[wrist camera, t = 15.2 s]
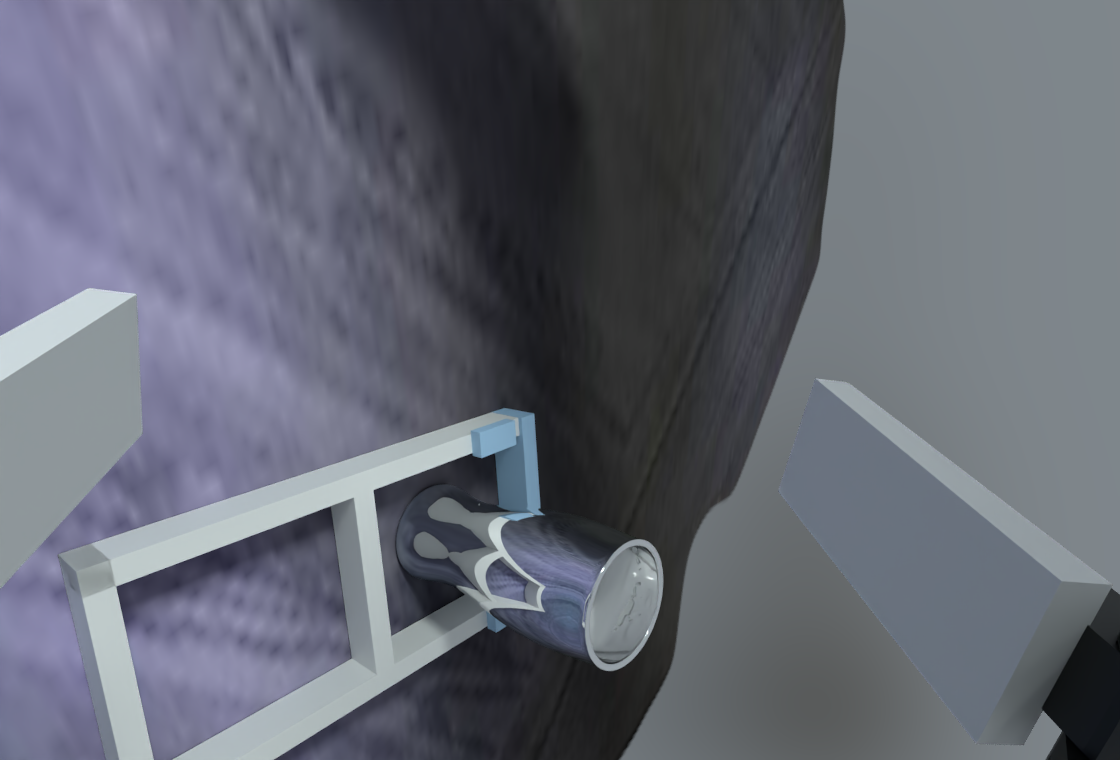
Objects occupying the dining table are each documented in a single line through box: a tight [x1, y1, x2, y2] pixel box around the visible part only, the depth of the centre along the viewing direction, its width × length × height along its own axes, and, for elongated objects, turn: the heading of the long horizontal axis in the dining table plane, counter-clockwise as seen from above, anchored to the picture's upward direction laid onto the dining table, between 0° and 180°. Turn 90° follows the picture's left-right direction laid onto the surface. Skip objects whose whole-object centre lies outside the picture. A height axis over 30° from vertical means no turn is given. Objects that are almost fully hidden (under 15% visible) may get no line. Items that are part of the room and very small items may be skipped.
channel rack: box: [58, 412, 519, 760], centre depth 39 cm, size 26×13×2 cm, turn 95°
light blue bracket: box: [471, 408, 540, 633], centre depth 47 cm, size 5×13×3 cm, turn 5°
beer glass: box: [396, 484, 663, 671], centre depth 40 cm, size 7×7×15 cm
